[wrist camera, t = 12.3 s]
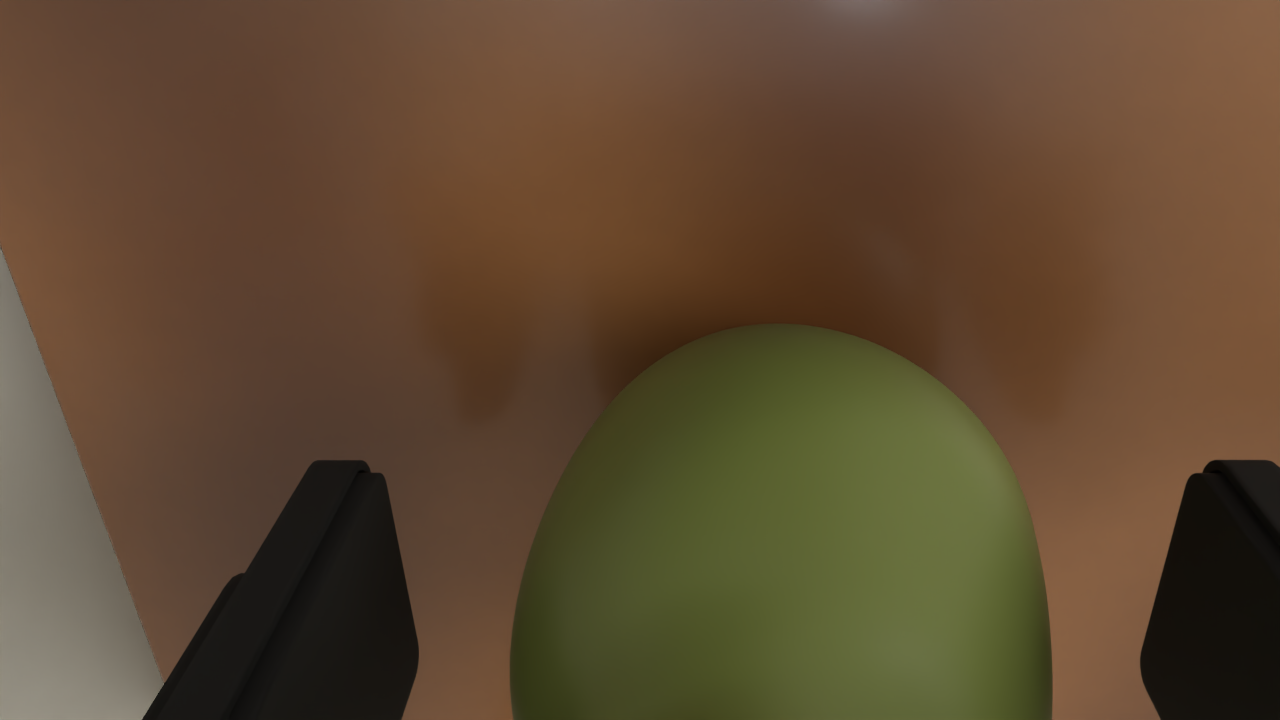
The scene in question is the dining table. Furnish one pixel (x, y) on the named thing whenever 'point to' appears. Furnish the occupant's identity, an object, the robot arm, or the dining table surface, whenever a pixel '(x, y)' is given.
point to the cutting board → (634, 263)
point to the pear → (784, 548)
